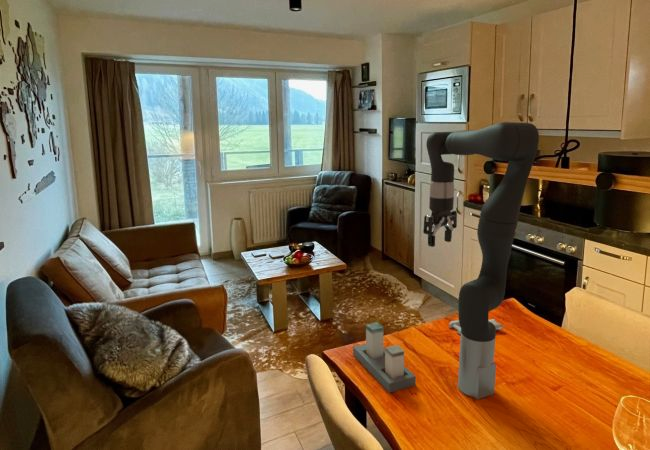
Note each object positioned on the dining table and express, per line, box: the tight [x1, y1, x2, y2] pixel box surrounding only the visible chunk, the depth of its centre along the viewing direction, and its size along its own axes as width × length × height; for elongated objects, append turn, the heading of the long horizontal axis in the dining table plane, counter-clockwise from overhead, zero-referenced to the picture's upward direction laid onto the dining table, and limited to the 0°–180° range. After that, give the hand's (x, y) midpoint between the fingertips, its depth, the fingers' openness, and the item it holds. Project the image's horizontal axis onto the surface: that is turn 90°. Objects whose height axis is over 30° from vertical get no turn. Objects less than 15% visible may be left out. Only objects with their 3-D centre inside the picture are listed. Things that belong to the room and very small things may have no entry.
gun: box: [448, 318, 504, 336], centre depth 160 cm, size 18×4×10 cm
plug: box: [365, 321, 384, 359], centre depth 139 cm, size 4×4×12 cm
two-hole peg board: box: [352, 343, 417, 393], centre depth 135 cm, size 23×9×10 cm, turn 23°
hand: (439, 243), depth 142 cm, fingers open, 8 cm apart
